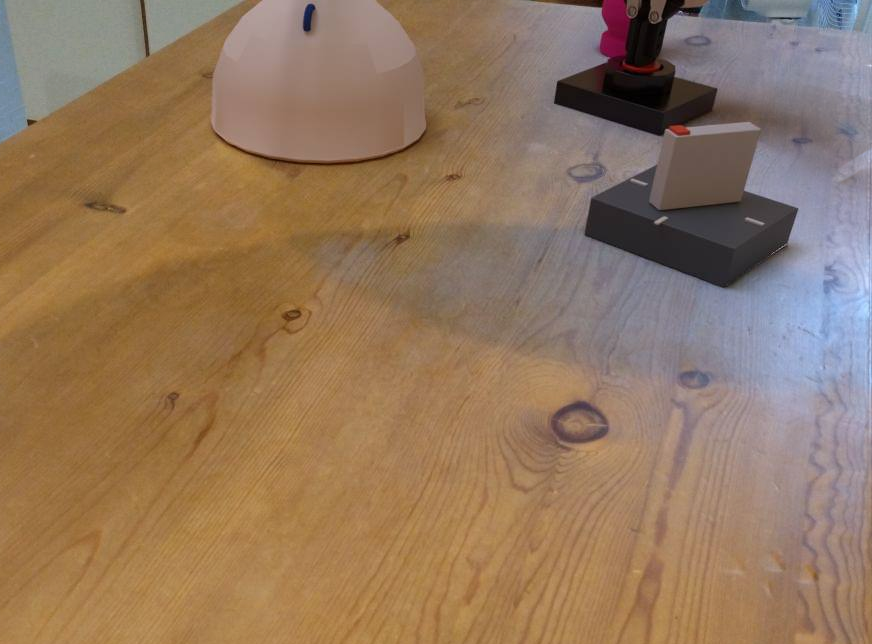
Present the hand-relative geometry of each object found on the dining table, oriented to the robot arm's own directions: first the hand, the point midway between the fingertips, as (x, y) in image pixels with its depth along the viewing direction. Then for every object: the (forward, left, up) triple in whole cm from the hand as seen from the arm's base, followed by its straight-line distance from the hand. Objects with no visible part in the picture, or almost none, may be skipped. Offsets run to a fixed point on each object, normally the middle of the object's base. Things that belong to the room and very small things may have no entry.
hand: (640, 62), depth 102 cm
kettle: (+18, +26, -4) cm, 32 cm away
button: (0, 0, -2) cm, 2 cm away
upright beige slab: (-19, +23, -1) cm, 30 cm away
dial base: (-19, +23, -4) cm, 30 cm away
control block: (0, 0, -4) cm, 4 cm away
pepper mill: (+10, -15, -4) cm, 18 cm away
